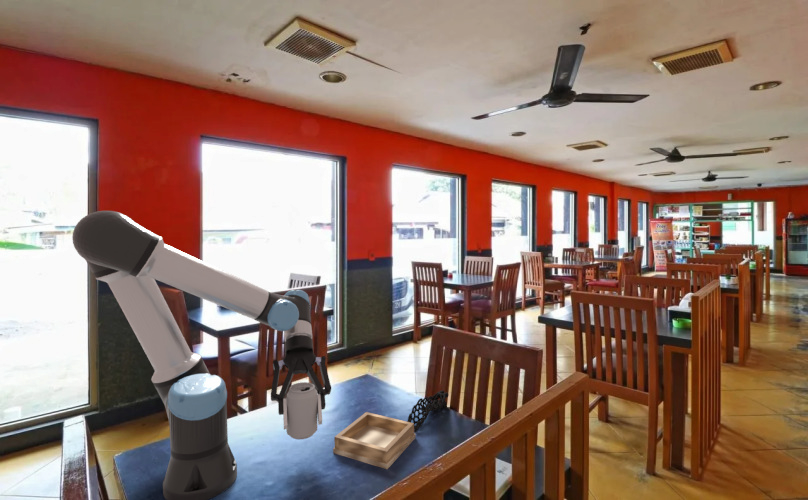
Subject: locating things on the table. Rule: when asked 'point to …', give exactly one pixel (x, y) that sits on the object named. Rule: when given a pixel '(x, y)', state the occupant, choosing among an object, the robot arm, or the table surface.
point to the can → (301, 410)
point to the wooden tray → (375, 439)
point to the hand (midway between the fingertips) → (303, 424)
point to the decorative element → (427, 407)
